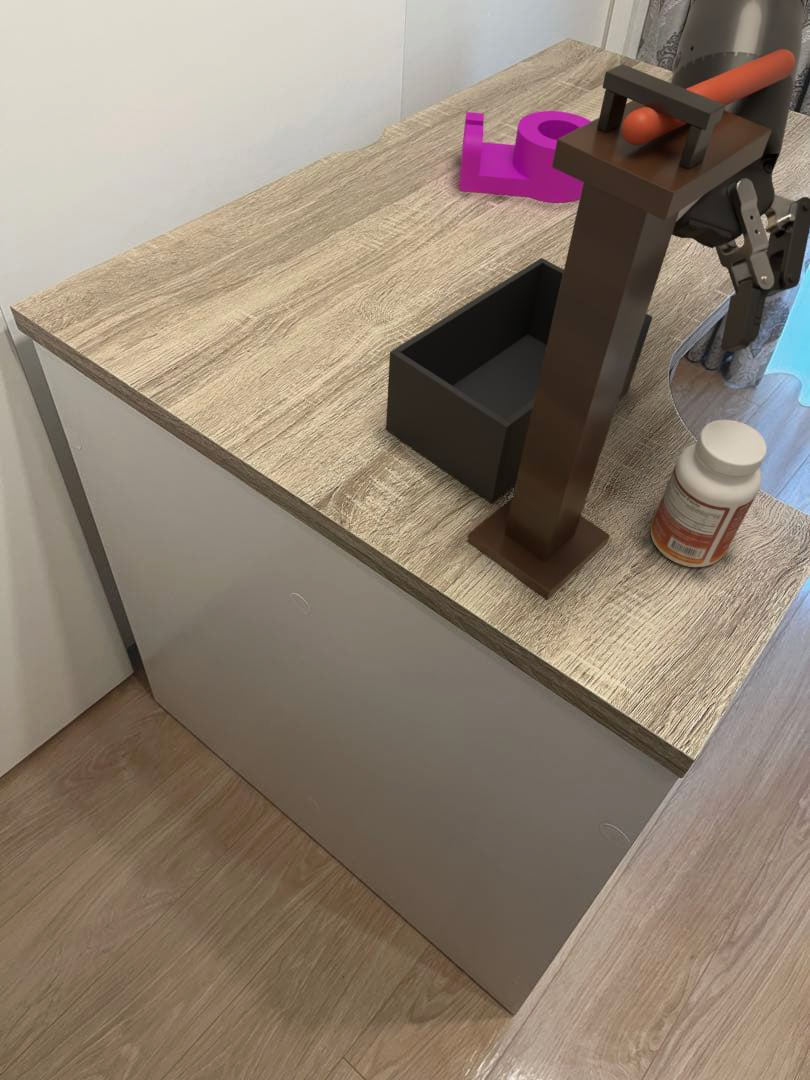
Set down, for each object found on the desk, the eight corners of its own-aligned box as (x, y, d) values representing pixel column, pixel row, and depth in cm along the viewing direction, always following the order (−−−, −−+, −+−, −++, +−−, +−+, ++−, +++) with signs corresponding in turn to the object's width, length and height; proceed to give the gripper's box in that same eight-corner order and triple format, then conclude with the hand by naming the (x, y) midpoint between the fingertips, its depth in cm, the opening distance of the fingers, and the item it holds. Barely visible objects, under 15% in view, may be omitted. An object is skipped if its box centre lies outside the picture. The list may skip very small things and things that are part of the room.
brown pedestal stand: (550, 472, 74) (668, 28, 47) (628, 523, 71) (802, 77, 44) (467, 541, 68) (547, 83, 42) (547, 600, 65) (689, 144, 38)
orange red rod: (768, 70, 52) (780, 42, 51) (791, 81, 52) (804, 53, 50) (611, 140, 43) (621, 108, 42) (637, 154, 43) (648, 122, 41)
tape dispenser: (587, 165, 109) (598, 114, 104) (592, 205, 103) (605, 154, 98) (461, 153, 109) (466, 103, 104) (458, 193, 103) (464, 141, 98)
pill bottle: (705, 507, 72) (753, 407, 64) (738, 564, 68) (795, 466, 60) (636, 516, 71) (676, 416, 63) (666, 575, 67) (713, 477, 59)
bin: (526, 333, 86) (541, 257, 79) (627, 393, 81) (653, 316, 74) (385, 429, 76) (389, 351, 69) (491, 504, 71) (506, 427, 64)
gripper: (664, 11, 50) (608, 286, 49) (867, 92, 53) (816, 350, 53) (604, 75, 57) (554, 316, 57) (786, 143, 61) (740, 371, 60)
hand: (681, 332), depth 55 cm, fingers open, 7 cm apart
